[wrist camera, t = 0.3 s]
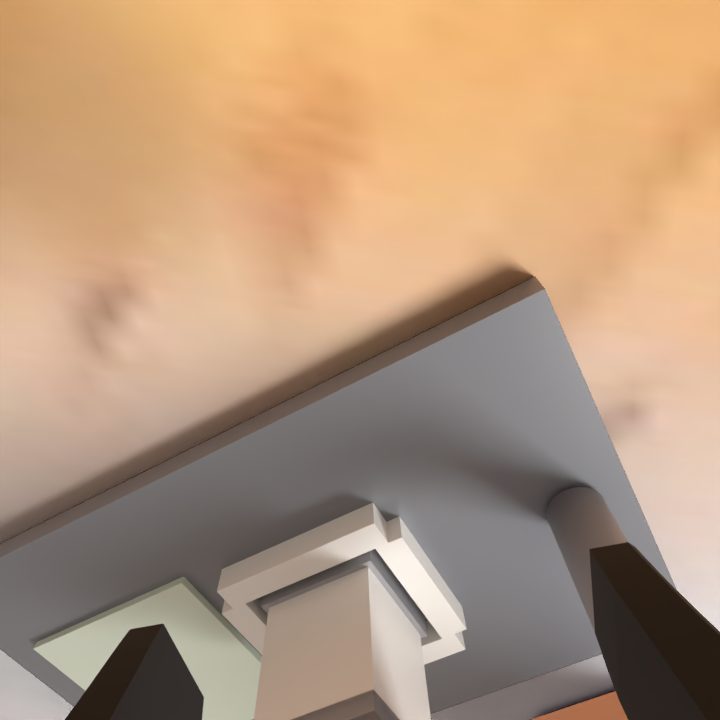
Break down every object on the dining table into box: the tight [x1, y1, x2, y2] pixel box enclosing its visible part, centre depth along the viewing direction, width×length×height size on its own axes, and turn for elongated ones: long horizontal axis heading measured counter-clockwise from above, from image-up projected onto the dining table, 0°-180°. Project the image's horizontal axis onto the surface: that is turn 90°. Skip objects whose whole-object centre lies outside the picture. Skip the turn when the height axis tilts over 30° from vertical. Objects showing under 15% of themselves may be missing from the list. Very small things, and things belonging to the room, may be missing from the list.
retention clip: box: [531, 487, 628, 720], centre depth 18 cm, size 2×13×8 cm, turn 119°
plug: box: [254, 549, 431, 720], centre depth 20 cm, size 4×4×6 cm
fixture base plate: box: [0, 277, 676, 720], centre depth 23 cm, size 16×24×2 cm, turn 119°
